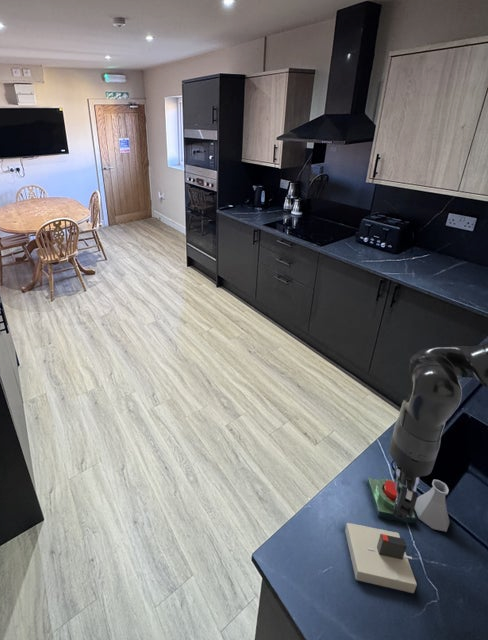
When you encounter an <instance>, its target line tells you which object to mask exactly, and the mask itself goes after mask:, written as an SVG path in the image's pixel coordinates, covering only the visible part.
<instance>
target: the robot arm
mask: <svg viewBox="0 0 488 640" xmlns="http://www.w3.org/2000/svg"><path fill="white" fill-rule="evenodd" d="M407 367H408V370H409V371H408V372H409V376H410V378H411V383H412V389H411V391H412V392H409V393H407V394H406V395H405V396H404V398H403V400H402V403H401V406H400V409H399V413H398V417H397V419H396V421H395V424H394V427H393V431H392V435H391V439H390V443H389V447H388V450H389V451H388V452H389V455H390V457H391V458H392V460H393V462H394V464H395V466H394V470H393V479H394V480H395V481H394V482H395V489H396V491H397V497H396V500H395V502H396V503H395V506H394V510H393V514H394V515H395V516H396V517H398V518H400V519H402V520H406V517H407V516H409V517H412V516H413V513H414V511H415V508H414V507H415V504H416V500H417V498H418V497H419V495H418V492H417V488H418V485H419V484H420V477H426V476H429V475H430V474H432V472H433V469H434V467H435V464H436V460H437V457H438V453H439V451H440V448H441V441H442V435H443V432H444V430H445V426H446V422H447V421H448V420H449V419H450V418H451V417H452V415H453V414H454V413H455V412H456V411H457V409H458V408H459V406H460V404H461V401H462V396H463V389H462V385H461V382H460V380H459V378H460V379H461V378H471V379H476V381H478V382H479V383H480V384H481V385H482V386H484V387H486V388H488V341H487V342H483V343H479V344H475V345H469V346H461V345H456V346H435V347H427V348H422V349H420V350H418V351H416V352H415V353H413V354H411V356H410V357H409V359H408V361H407ZM399 483H400V484H402V488H401V487H399Z"/></svg>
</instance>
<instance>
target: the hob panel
mask: <svg viewBox="0 0 488 640" xmlns="http://www.w3.org/2000/svg"><path fill="white" fill-rule="evenodd" d="M344 532H345V536H346V541H347V545H348V546H347V547H348V550H349V554H350V559H351V565H352V568H353V573H354V579H355V580H356V581H359V582H363V583H368V584H373V585H377V586H380V587H384V588H390V589H392V590H393V589H394V590H397V591H402V592H406V593H411V594H414V593H415V591H416V588H417V586H418V585H417V581H416V578H415V575H414V573H413V570H412V567H411V564H410V561H409V560H413V556H409V555H407V552H405V553H404V556H403V559H397V558H392V557H388V556H383V555H379V553H378V549H377V545H378V541H379V537H380V534H384V535H388V536H393V537H398V538H401V536H400V533H399V532H396V531H390V530H386V529H382V528H376V527H371V526H367V525H362V524H356V523H351V522H346V525H345V530H344Z"/></svg>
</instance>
